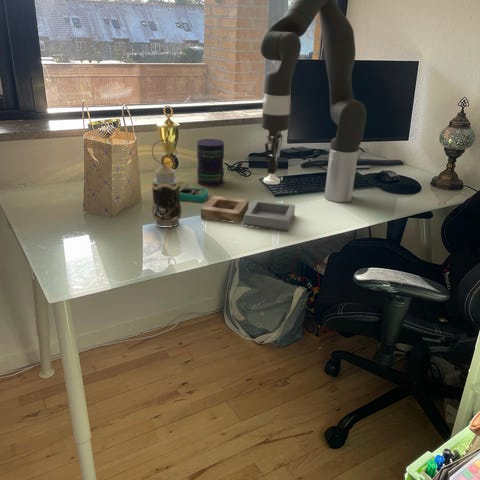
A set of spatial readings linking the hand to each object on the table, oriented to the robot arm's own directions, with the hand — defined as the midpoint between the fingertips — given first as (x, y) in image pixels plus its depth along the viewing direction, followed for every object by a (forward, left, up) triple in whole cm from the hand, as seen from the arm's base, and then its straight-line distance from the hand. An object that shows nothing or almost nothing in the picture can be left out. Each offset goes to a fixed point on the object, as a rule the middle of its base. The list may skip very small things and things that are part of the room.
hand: (272, 171), depth 134 cm
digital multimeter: (+32, -10, -16) cm, 37 cm away
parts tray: (0, 0, -15) cm, 15 cm away
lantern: (+28, +12, -16) cm, 35 cm away
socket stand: (+14, -1, -15) cm, 21 cm away
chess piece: (0, 0, -3) cm, 3 cm away
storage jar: (+28, -28, -16) cm, 43 cm away
